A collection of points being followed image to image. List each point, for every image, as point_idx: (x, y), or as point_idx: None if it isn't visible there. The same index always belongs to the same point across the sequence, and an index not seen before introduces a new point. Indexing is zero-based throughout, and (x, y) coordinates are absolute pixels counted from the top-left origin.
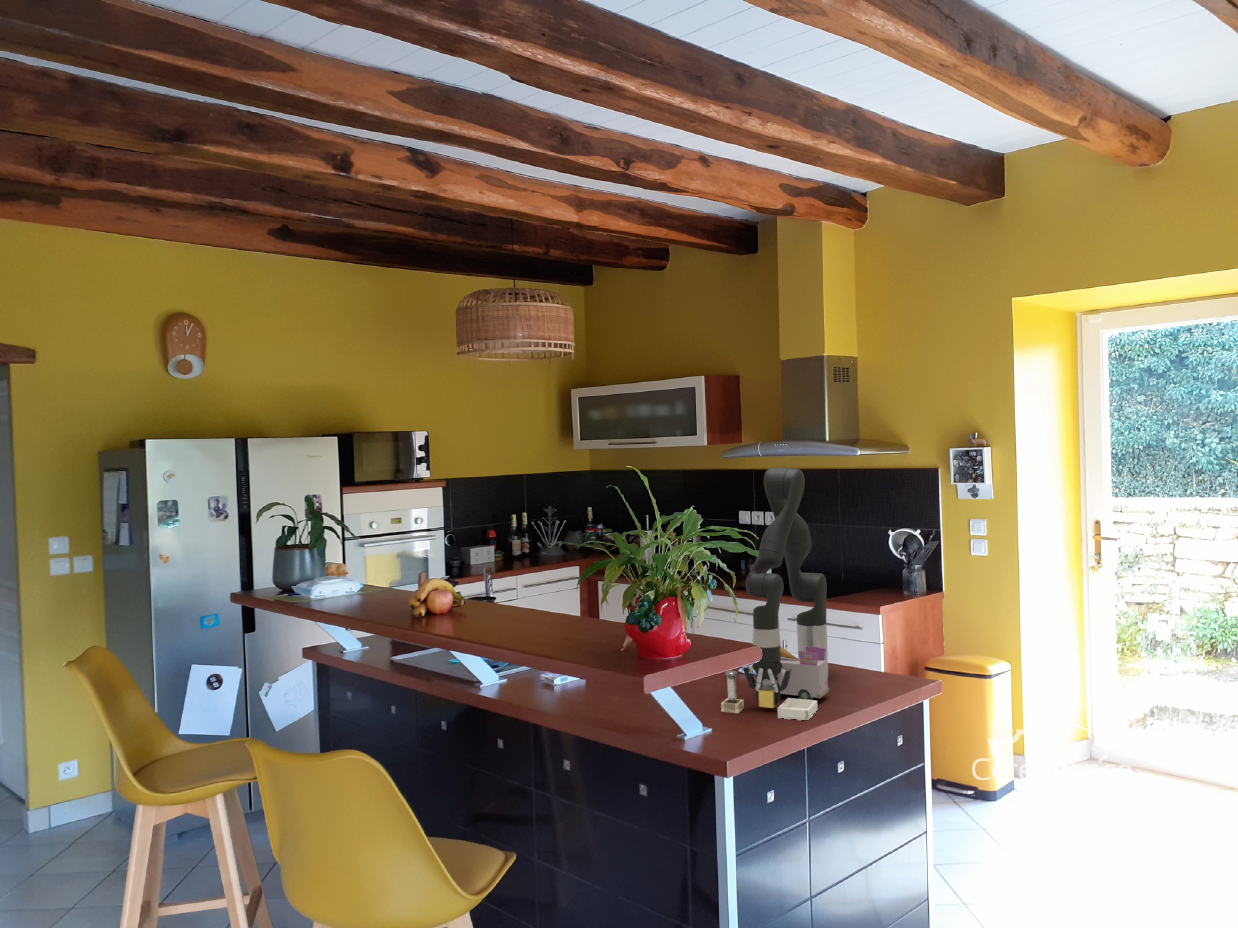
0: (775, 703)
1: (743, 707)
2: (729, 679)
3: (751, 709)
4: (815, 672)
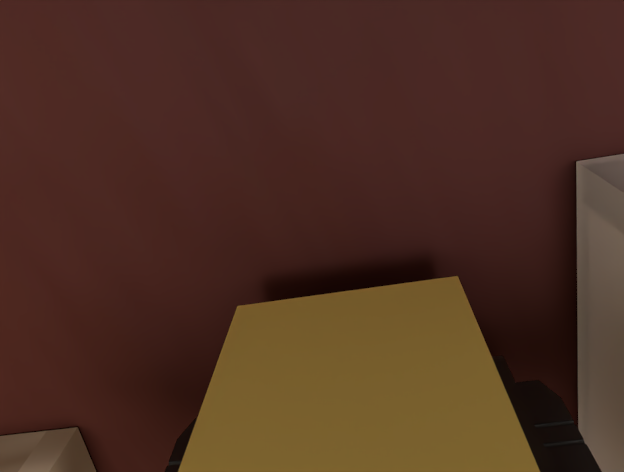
0: None
1: (75, 447)
2: None
3: (171, 421)
4: None
